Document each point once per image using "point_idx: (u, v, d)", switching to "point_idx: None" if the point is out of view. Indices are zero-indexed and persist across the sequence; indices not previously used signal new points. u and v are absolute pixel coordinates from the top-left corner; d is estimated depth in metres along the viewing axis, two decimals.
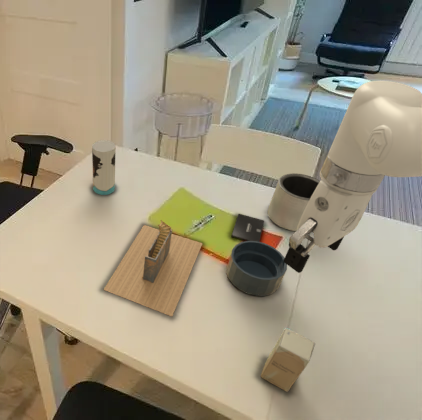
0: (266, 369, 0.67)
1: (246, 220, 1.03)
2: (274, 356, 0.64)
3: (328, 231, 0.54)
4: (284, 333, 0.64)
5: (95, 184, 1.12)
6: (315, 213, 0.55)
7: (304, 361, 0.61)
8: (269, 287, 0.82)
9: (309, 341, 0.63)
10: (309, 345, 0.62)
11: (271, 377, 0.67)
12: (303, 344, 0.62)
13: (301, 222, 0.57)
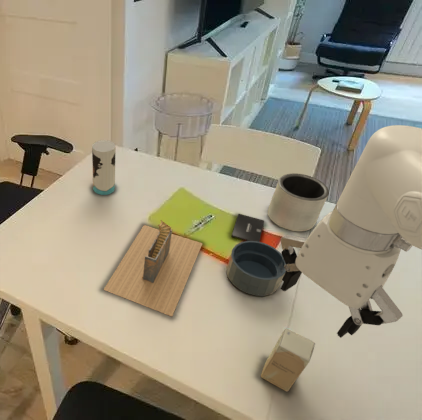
0: (266, 369, 0.67)
1: (246, 220, 1.03)
2: (274, 356, 0.64)
3: None
4: (284, 333, 0.64)
5: (95, 184, 1.12)
6: (382, 281, 0.47)
7: (304, 361, 0.61)
8: (269, 287, 0.82)
9: (309, 341, 0.63)
10: (309, 345, 0.62)
11: (271, 377, 0.67)
12: (303, 344, 0.62)
13: (366, 299, 0.48)
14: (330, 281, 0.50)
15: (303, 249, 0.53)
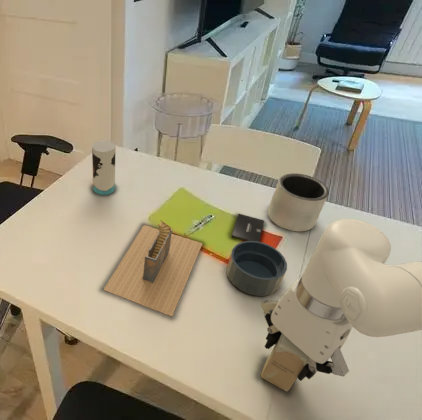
0: (266, 369, 0.67)
1: (246, 220, 1.03)
2: (274, 356, 0.64)
3: None
4: None
5: (95, 184, 1.12)
6: (340, 342, 0.55)
7: (304, 361, 0.61)
8: (269, 287, 0.82)
9: None
10: None
11: (271, 377, 0.67)
12: None
13: (328, 357, 0.56)
14: (299, 339, 0.58)
15: (276, 309, 0.61)
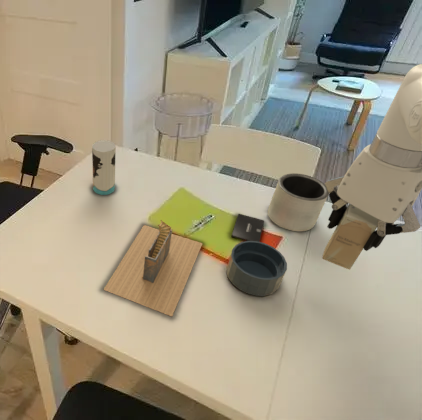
0: (329, 248, 0.70)
1: (246, 220, 1.03)
2: (339, 230, 0.67)
3: None
4: (349, 207, 0.67)
5: (95, 184, 1.12)
6: (414, 196, 0.57)
7: (372, 228, 0.63)
8: (269, 287, 0.82)
9: None
10: None
11: (333, 256, 0.70)
12: (369, 214, 0.65)
13: (401, 212, 0.58)
14: (369, 202, 0.61)
15: (345, 178, 0.63)
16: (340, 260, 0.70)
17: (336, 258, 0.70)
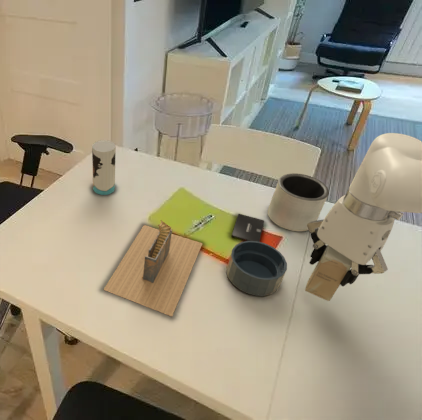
0: (311, 282, 0.78)
1: (246, 220, 1.03)
2: (319, 267, 0.75)
3: None
4: (328, 247, 0.75)
5: (95, 184, 1.12)
6: (381, 243, 0.65)
7: (347, 267, 0.72)
8: (269, 287, 0.82)
9: None
10: None
11: (314, 289, 0.78)
12: None
13: (370, 257, 0.67)
14: (344, 245, 0.69)
15: (323, 223, 0.72)
16: (321, 293, 0.78)
17: (317, 291, 0.78)
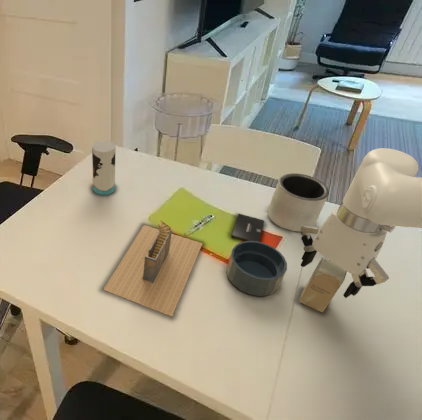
0: (305, 293, 0.80)
1: (246, 220, 1.03)
2: (313, 280, 0.77)
3: (377, 254, 0.69)
4: (321, 260, 0.77)
5: (95, 184, 1.12)
6: (374, 254, 0.67)
7: (340, 280, 0.74)
8: (269, 287, 0.82)
9: None
10: (343, 269, 0.75)
11: (308, 300, 0.81)
12: (338, 268, 0.75)
13: (364, 267, 0.68)
14: (338, 256, 0.71)
15: (318, 234, 0.73)
16: (314, 304, 0.80)
17: (311, 302, 0.80)
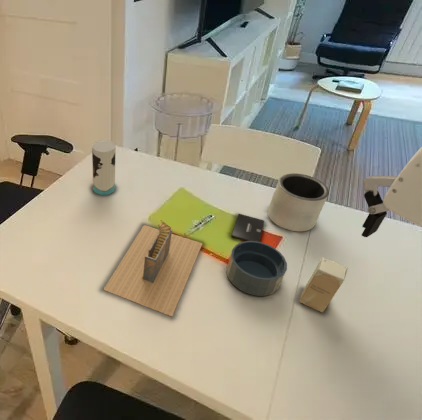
0: (305, 293, 0.80)
1: (246, 220, 1.03)
2: (313, 280, 0.77)
3: None
4: (321, 260, 0.77)
5: (95, 184, 1.12)
6: None
7: (340, 280, 0.74)
8: (269, 287, 0.82)
9: (342, 266, 0.76)
10: (343, 269, 0.75)
11: (308, 300, 0.81)
12: (338, 268, 0.75)
13: None
14: None
15: (395, 184, 0.50)
16: (314, 304, 0.80)
17: (311, 302, 0.80)
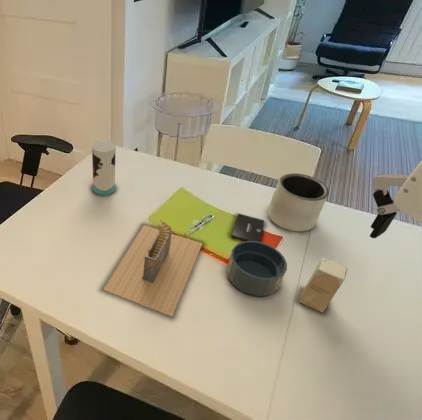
0: (305, 293, 0.80)
1: (246, 220, 1.03)
2: (313, 280, 0.77)
3: None
4: (321, 260, 0.77)
5: (95, 184, 1.12)
6: None
7: (340, 280, 0.74)
8: (269, 287, 0.82)
9: (342, 266, 0.76)
10: (343, 269, 0.75)
11: (308, 300, 0.81)
12: (338, 268, 0.75)
13: None
14: None
15: (407, 184, 0.47)
16: (314, 304, 0.80)
17: (311, 302, 0.80)
